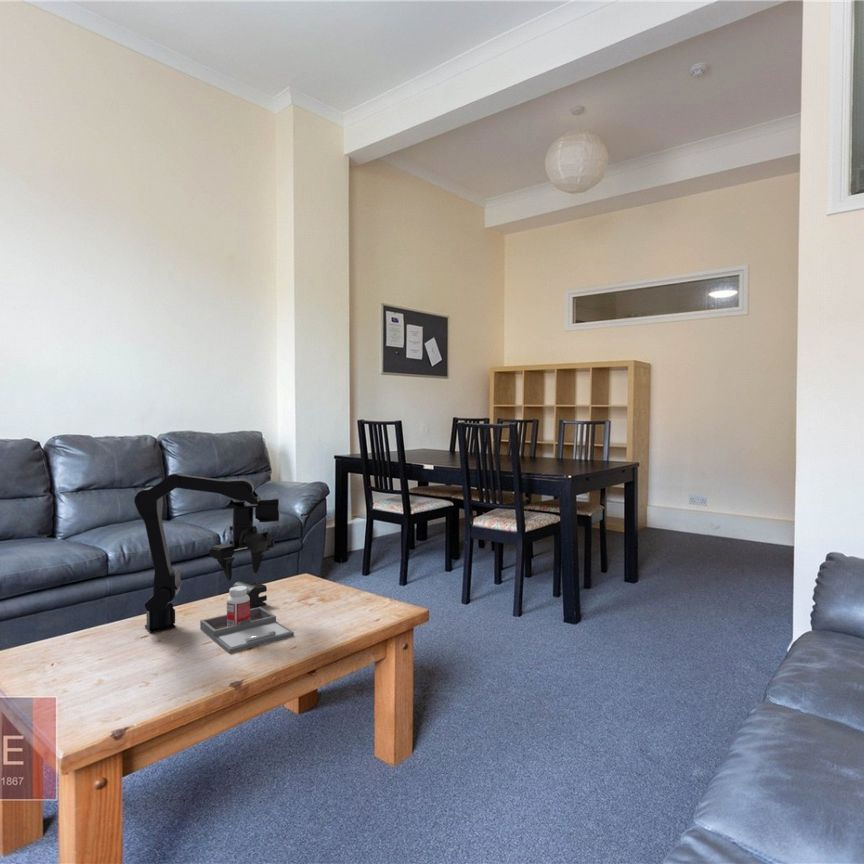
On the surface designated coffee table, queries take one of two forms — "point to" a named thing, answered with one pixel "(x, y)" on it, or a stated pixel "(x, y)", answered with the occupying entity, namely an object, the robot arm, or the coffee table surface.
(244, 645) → the case lid
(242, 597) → the pill bottle
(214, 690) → the coffee table surface
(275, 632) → the stay rod
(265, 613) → the case
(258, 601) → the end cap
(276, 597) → the coffee table surface
